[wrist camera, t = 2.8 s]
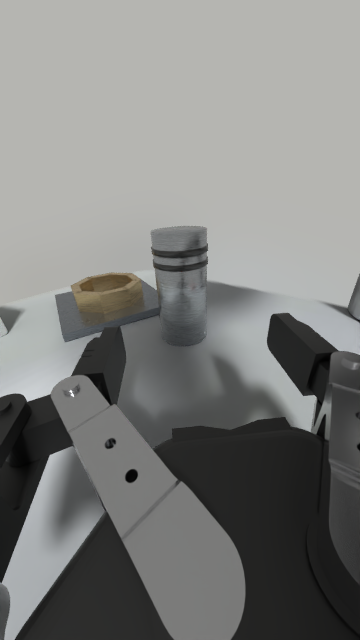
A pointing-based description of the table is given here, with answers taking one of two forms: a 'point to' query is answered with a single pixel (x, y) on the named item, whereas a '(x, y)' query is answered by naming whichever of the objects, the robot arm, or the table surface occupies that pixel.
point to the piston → (181, 282)
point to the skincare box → (2, 328)
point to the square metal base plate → (105, 304)
